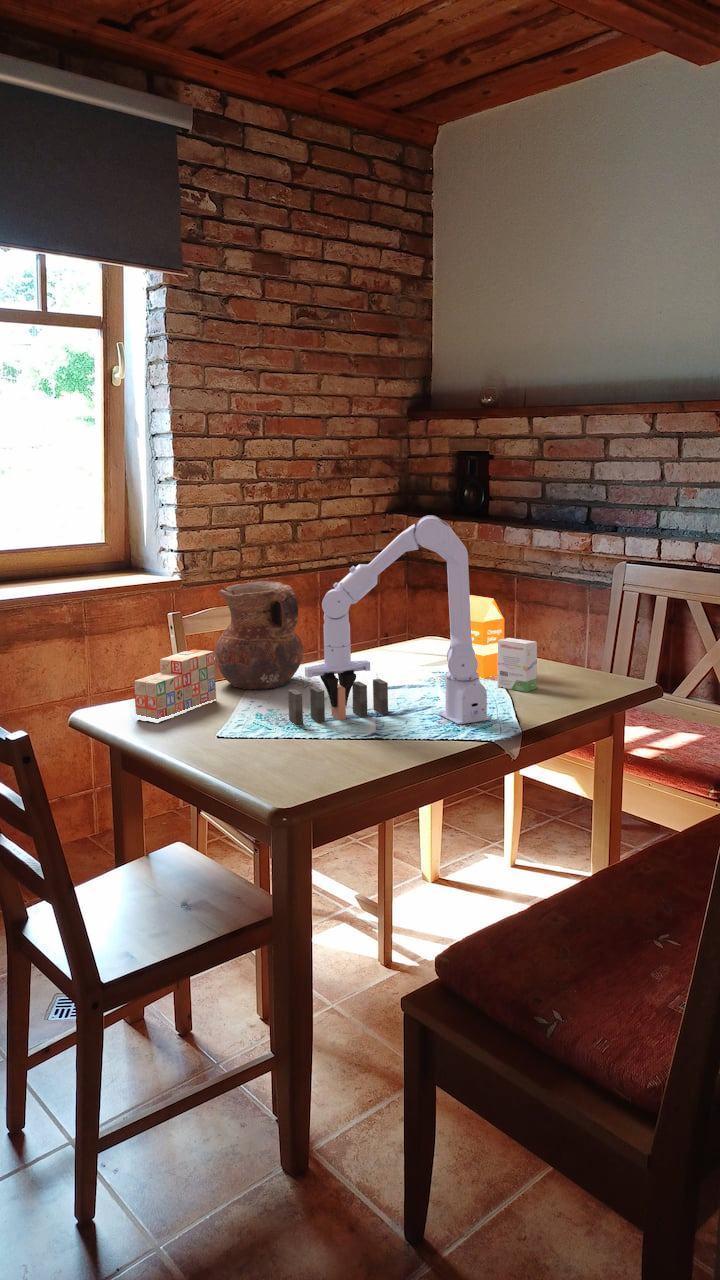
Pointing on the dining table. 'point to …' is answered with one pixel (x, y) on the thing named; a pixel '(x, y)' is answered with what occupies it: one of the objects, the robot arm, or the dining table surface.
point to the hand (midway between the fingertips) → (338, 705)
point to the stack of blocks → (177, 684)
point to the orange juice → (486, 633)
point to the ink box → (517, 664)
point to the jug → (259, 636)
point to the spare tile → (340, 704)
